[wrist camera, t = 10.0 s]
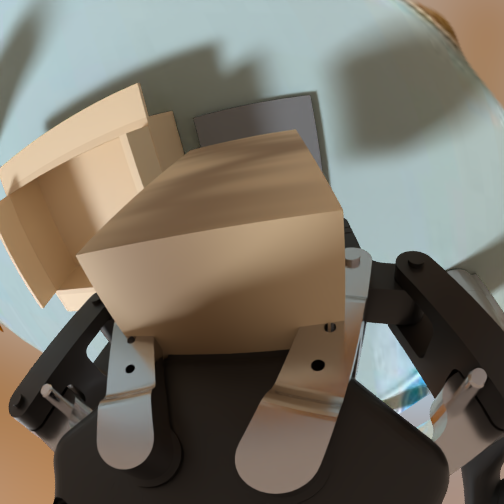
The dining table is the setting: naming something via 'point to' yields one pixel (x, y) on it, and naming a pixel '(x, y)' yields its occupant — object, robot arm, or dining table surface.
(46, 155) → the carton
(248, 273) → the block
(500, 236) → the dining table surface
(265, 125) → the slate mat
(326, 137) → the dining table surface
